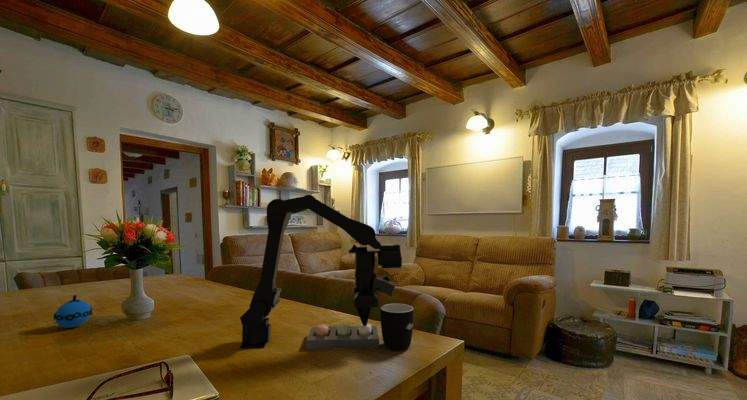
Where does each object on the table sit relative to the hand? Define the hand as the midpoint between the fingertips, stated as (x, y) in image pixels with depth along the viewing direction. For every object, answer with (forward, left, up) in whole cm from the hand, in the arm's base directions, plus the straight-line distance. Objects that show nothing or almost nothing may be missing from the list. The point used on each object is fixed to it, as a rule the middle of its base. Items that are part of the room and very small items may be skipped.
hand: (364, 325), depth 87 cm
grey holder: (-6, 0, -4) cm, 7 cm away
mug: (+9, -3, -4) cm, 11 cm away
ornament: (-92, +17, -4) cm, 94 cm away
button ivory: (0, 0, -3) cm, 3 cm away
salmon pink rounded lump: (-12, 0, -3) cm, 12 cm away
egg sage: (-6, 0, -3) cm, 7 cm away
